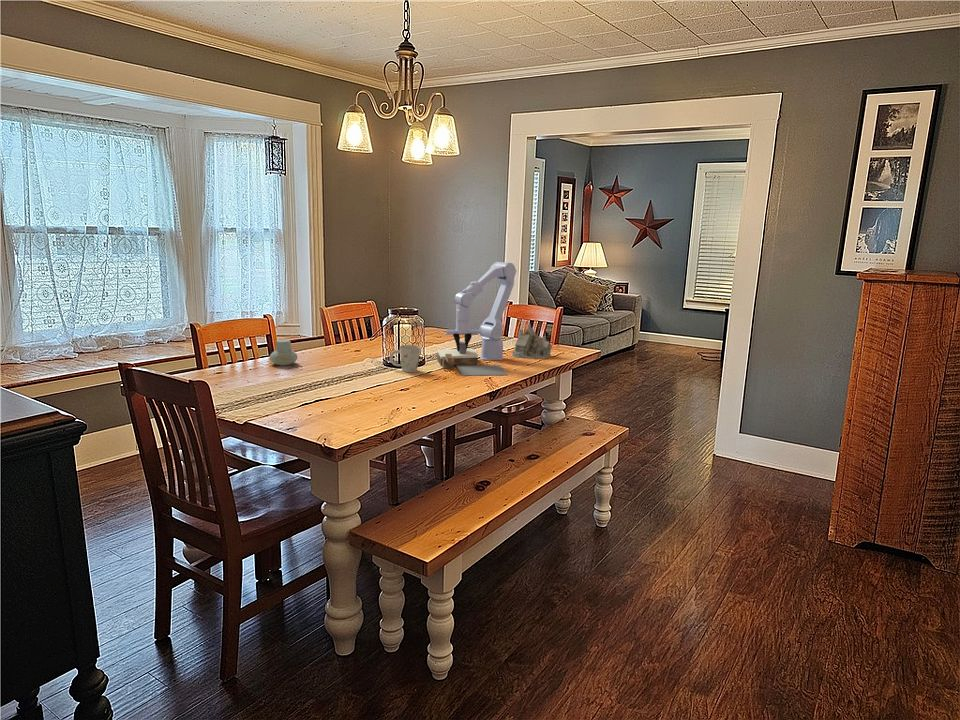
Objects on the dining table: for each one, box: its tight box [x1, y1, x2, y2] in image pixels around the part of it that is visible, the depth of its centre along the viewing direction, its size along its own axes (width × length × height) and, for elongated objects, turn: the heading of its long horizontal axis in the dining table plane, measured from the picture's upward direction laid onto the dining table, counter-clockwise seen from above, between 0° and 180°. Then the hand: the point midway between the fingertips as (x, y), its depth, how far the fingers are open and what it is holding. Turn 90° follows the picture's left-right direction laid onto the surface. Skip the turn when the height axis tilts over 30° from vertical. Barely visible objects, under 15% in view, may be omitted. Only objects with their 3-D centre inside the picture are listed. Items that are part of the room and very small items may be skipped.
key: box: [445, 354, 454, 363], centre depth 263 cm, size 2×8×2 cm, turn 11°
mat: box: [455, 364, 509, 377], centre depth 266 cm, size 19×17×1 cm
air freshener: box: [269, 339, 298, 367], centre depth 263 cm, size 11×8×10 cm
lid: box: [436, 341, 479, 359], centre depth 279 cm, size 16×14×6 cm
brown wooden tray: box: [436, 352, 479, 370], centre depth 277 cm, size 16×20×4 cm
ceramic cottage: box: [511, 323, 553, 360], centre depth 297 cm, size 16×16×15 cm
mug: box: [389, 344, 421, 373], centre depth 260 cm, size 8×13×10 cm, turn 89°
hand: (461, 350), depth 279 cm, fingers closed on lid, 2 cm apart
